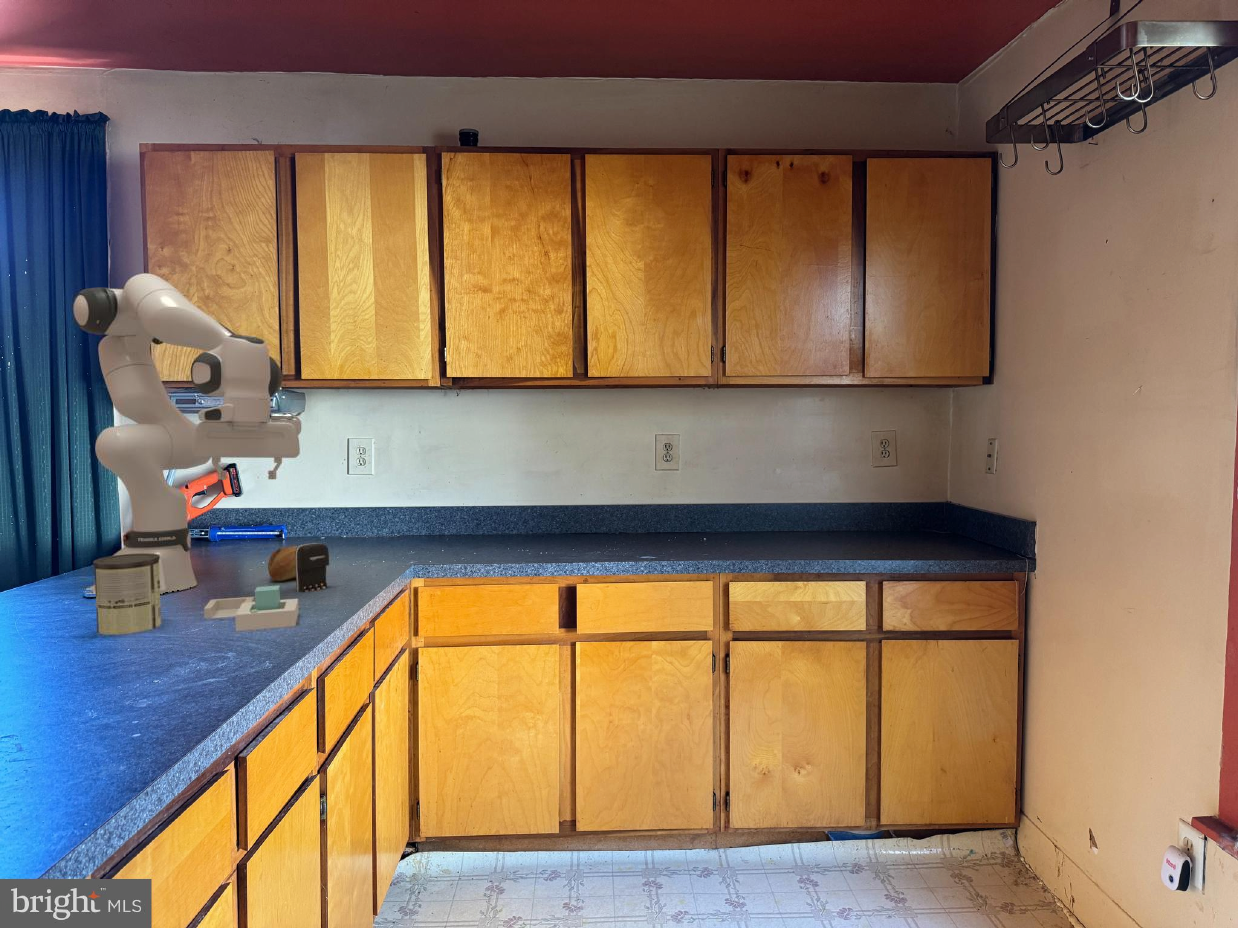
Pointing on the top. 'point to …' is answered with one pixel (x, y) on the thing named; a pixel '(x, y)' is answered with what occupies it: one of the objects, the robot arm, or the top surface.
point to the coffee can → (127, 593)
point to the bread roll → (282, 564)
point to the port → (267, 616)
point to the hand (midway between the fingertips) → (247, 479)
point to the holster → (224, 607)
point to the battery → (311, 566)
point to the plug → (267, 598)
